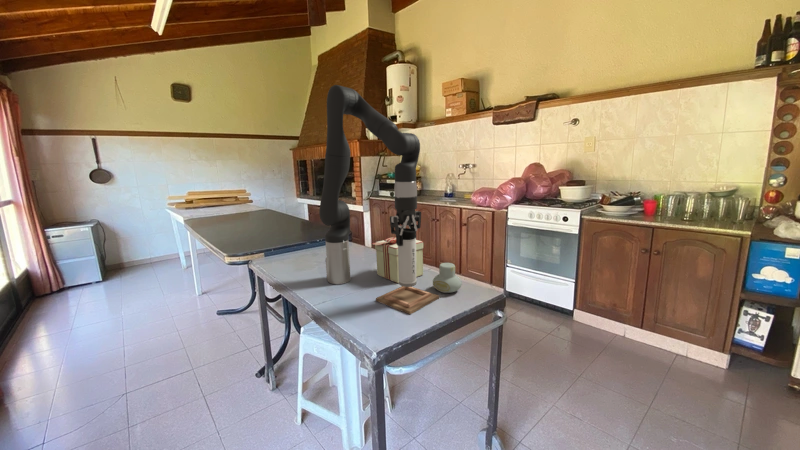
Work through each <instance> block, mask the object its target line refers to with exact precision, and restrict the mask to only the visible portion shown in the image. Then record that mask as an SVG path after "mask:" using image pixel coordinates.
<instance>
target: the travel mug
mask: <svg viewBox="0 0 800 450" xmlns="http://www.w3.org/2000/svg"><path fill="white" fill-rule="evenodd" d="M400 229H401V228H400ZM400 229H399V231H400ZM402 235H403V246H398V269H399V283H398V284H399V285H400V287H401V286H404V287H414V286H415V285H417V281H418V280H417V277H416V240H417V231H415V230H413V229H410V228H407V227H406V228H405V229H404V231H403V234H402Z"/></svg>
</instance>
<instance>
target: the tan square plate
mask: <svg viewBox="0 0 800 450" xmlns="http://www.w3.org/2000/svg"><path fill="white" fill-rule="evenodd" d="M439 299H440V295H439V294H435V293H433V292H429V291H426V290H423V289H420V288H417V287H414V286H411V287H404V286H401V285H400V287H398V288H394V289H393V290H391V291H389V292H386V293H384V294H381V295H380V296H378V297H376V298H375V301H376V302H378V303H380V304H382V305H386V306H387V307H390V308H393V309H395V310H398V311H401V312H403V313H406V314H407V315H408V314H409V315H412V314H414V313H416V312H417V311H419V310H421V309H423V308H424V307H426V306H428V305H430V304H431V303H433V302H435V301H437V300H439Z"/></svg>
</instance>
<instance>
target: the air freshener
mask: <svg viewBox="0 0 800 450" xmlns="http://www.w3.org/2000/svg"><path fill="white" fill-rule="evenodd" d="M438 273H439V274H437V275H436V276H434V278H433V279H432V286H433V287H434V288H435V289H436V290H437V291H439V292H440V293H442V294H443V293H444V294H451V293H454V292H455V293H456V292H457V291H458V290H460V289H461V288H462V285H463V283H462V279H461V278H460V277H459V276H458V275H457V274H456V265H455V264H454V263H452V262H442V263H440V264H439V271H438Z"/></svg>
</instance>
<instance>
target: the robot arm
mask: <svg viewBox="0 0 800 450" xmlns="http://www.w3.org/2000/svg"><path fill="white" fill-rule="evenodd" d="M344 115H348V116H349V115H350V116H353V117H355V118H358V119H359V120H361V121H362V122H363V123H364V126H365V127H366V129H367V130H368V131H369V132H370V133H371V134H372V135H374V136H375V137H376V138H378V139H379V140H381V142H382V143H383V144H384V145H385V147H386V148H387V149H388V150H389V151H390V153H393V154H394V155H397V156H401V160H400V162H399V163H397V164H396V165H395V167H394V186H393V187H394V189H393V192H394V209H395V210H396V214H395V215H393V216H392V215H390V216H389V226H390V234H392V235H395V237H396V244H397V245H398V246H403V235H402V234H403V231H404V229H405V228H407V227H409V228H408V229H413V230H415V231H416V232H417V231H418V229H421V223H422V211H419V210H416V209H418V187H417V165H418V161H419V156H420V154H421V153H420V152H421V143H420V139H419V137H418V136H417V135H416V134H415V133H410V132H401V131H400V130H399V128H398V126H397V125H396V123H395V122H394V121H391V120H390V119H389V118H388V117H386V116H385V115H383V114H382V113H380V112H379V111H377V110H376V109H375V108H374V107H373V106H371V104H369V103H368V102H367V101H366V100H365V99H364V98H363V96H362V95H361V94H360V93H358V91H356V90H355V89H353V88H350V87H347V86H343V85H338V84H334V85H332V86H330V88H329V90H328V92H327V97H326V126H327V128H326V143H325V144H326V147H325V156H324V172H323V173H324V174H323V184H322V185H323V187H322V191H321V192H322V193H321V196H320V197H321V198H320V203H319V204H320V205H319V218H320V221H321V223H323V225H325V226H330V228H329V229H328V230H327V232H326V233H325V235H324V239H325V240H324V241H325V252H326V253H325V254H326V256H325V269H326V270H325V271H326V281H328V283H330V284H333V285H341V284H342V285H343V284H347V283H348V282H350V281H351V263H350V262H351V261H350V243H349V240H350V239H349V235H350V232H351V213H350V211H351V210H350V208H349V205H348V204H347V202H345V201H344V200H340V199H339V198H340V192H341V188H342V187H343V184H344V182H345V180H346V178H347V176H348V174H349V170H350V166H351V165H350V163H351V148H350V145H349V142H348V140H347V139H348V138H347V137H346V134H345V131H344ZM400 228H401V229H400ZM399 229H400V231H399Z"/></svg>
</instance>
